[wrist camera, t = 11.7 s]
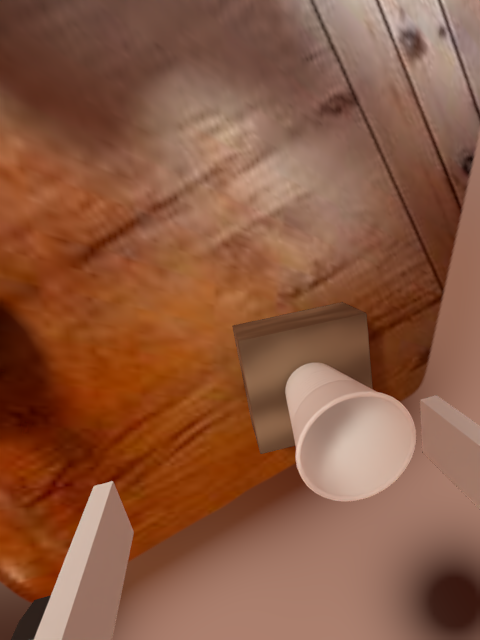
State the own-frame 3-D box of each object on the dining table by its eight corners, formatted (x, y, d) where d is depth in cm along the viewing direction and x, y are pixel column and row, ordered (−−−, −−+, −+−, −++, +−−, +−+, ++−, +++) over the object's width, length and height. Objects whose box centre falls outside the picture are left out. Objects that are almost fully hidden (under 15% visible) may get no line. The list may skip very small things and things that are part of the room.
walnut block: (232, 325, 39) (238, 341, 34) (342, 302, 40) (366, 313, 35) (252, 424, 43) (260, 453, 37) (352, 401, 44) (375, 425, 38)
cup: (367, 357, 36) (437, 408, 25) (334, 434, 38) (386, 511, 27) (285, 333, 34) (324, 378, 23) (255, 415, 36) (278, 490, 25)
